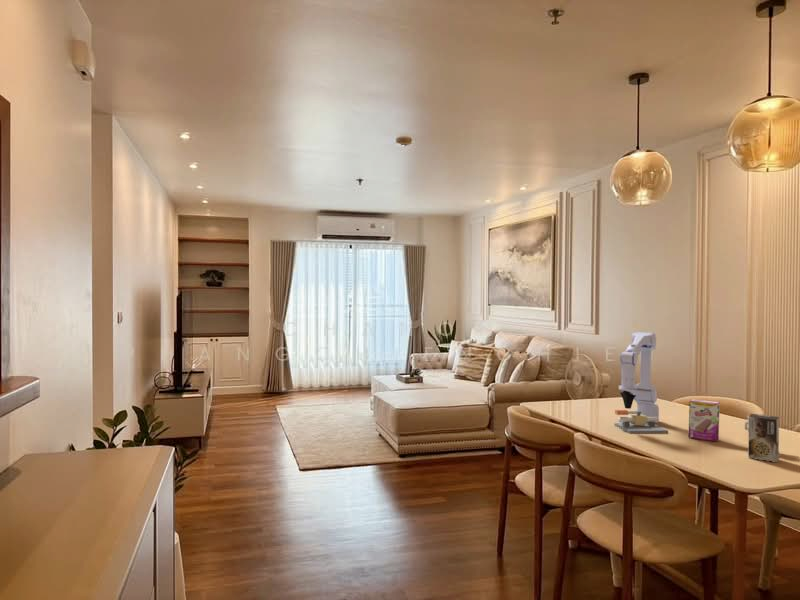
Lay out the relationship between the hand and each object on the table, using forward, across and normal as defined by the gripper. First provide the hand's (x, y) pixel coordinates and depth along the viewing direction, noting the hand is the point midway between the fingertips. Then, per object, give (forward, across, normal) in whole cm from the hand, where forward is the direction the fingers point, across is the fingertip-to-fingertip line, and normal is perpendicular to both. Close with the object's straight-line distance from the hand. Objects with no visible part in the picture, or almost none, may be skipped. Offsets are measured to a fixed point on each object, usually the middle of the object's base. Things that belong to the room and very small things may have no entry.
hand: (627, 408), depth 239 cm
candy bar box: (+11, +14, +26) cm, 32 cm away
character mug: (+11, +30, +38) cm, 50 cm away
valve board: (+10, -3, +8) cm, 13 cm away
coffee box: (+10, +42, +32) cm, 54 cm away
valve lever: (+4, -5, +3) cm, 7 cm away
